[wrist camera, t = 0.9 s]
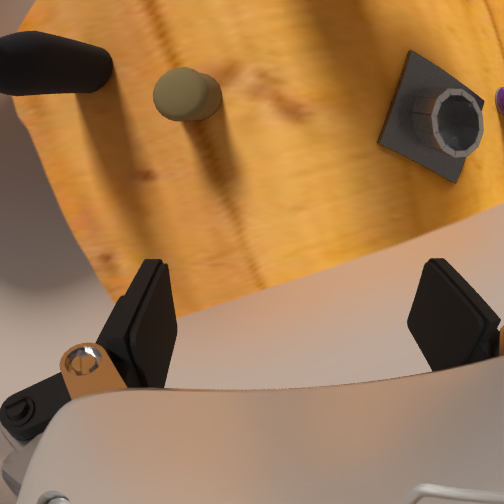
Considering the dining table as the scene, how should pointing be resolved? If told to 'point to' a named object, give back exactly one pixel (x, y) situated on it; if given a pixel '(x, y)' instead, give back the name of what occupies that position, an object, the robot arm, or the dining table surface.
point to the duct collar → (433, 118)
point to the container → (500, 99)
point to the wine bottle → (50, 65)
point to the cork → (186, 95)
